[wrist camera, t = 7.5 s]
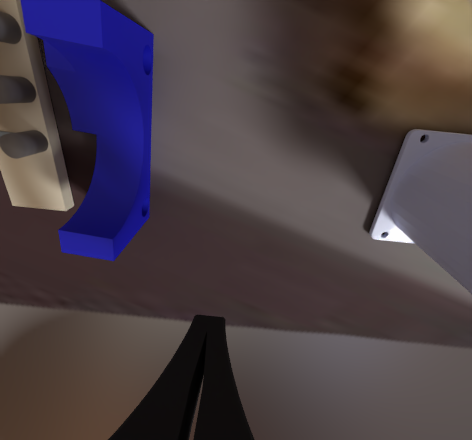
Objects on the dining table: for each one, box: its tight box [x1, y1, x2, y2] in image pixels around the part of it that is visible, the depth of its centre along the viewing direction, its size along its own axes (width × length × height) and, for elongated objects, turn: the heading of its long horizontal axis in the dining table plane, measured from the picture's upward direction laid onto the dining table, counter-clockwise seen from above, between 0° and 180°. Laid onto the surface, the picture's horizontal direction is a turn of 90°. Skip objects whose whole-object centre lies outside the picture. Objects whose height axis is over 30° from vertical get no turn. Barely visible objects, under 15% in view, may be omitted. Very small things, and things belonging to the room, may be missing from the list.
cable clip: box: [21, 0, 153, 261], centre depth 15 cm, size 12×4×6 cm, turn 170°
